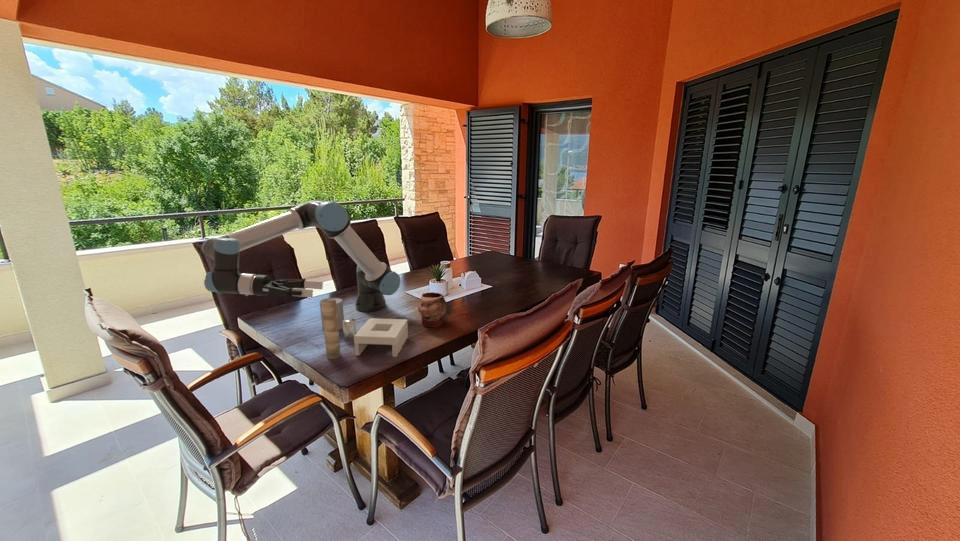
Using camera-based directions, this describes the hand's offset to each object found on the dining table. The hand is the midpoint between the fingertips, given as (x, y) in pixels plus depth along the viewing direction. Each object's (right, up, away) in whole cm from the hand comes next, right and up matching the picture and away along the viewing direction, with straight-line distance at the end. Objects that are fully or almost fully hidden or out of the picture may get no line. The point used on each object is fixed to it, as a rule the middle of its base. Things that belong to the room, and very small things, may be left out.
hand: (317, 289), depth 141 cm
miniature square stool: (+21, -23, +14) cm, 34 cm away
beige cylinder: (-6, -19, +32) cm, 37 cm away
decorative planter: (+38, -18, +38) cm, 57 cm away
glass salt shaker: (+5, -22, +20) cm, 30 cm away
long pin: (+4, -26, +5) cm, 26 cm away
